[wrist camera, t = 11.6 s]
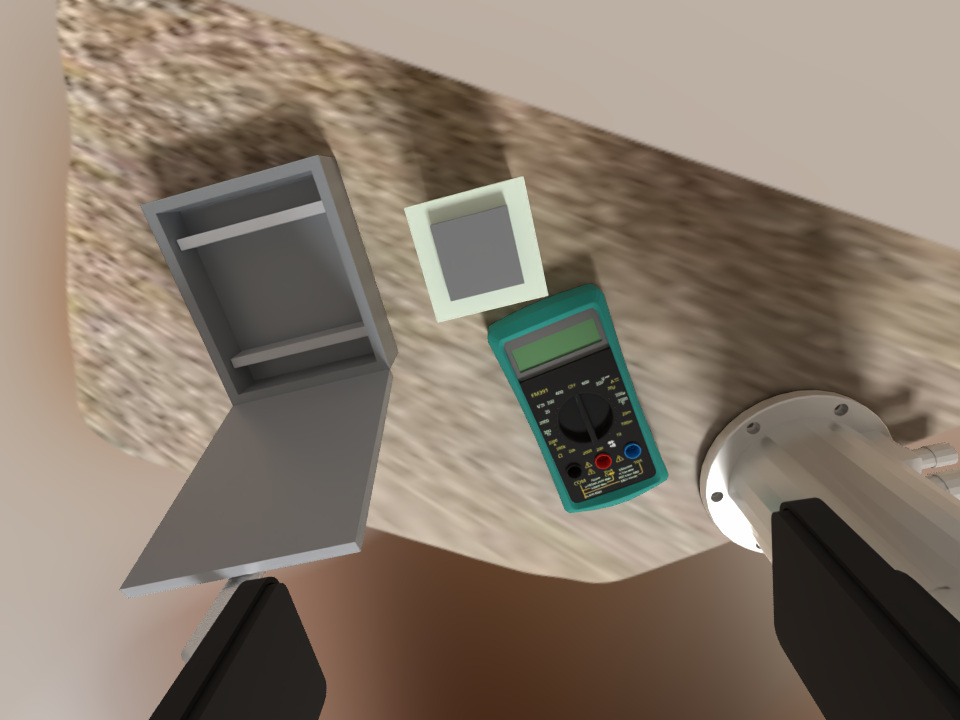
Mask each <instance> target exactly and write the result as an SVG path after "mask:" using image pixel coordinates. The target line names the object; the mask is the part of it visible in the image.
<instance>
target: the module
mask: <svg viewBox="0 0 960 720" xmlns="http://www.w3.org/2000/svg"><path fill="white" fill-rule="evenodd" d="M404 210H405V213H406V217H407V220H408V223H409V227H410V230H411V234H412V237H413V241H414V244H415V247H416V251H417V254H418V258H419V261H420V265H421V268H422V271H423V275H424V278H425V282H426V285H427V289H428V292H429V295H430V299H431V302H432V306H433V309H434V313H435V316H436V319H437V323H438V322H442V321H447V320H451V319H455V318H459V317H463V316H467V315H471V314H475V313H479V312H483V311H488V310H492V309H496V308H500V307H504V306H508V305H512V304H516V303H520V302H524V301H529V300H533V299H537V298H541V297H545V296H548V291H547V286H546V282H545V277H544V272H543V267H542V262H541V258H540V253H539V248H538V243H537V239H536V234H535V229H534V224H533V220H532V215H531V210H530V205H529V200H528V196H527V191H526V186H525V181H524V177H523V176H522V177H517V178H512V179H508V180H505V181H501V182H497V183H493V184H490V185H486V186H482V187H478V188H475V189H471V190H467V191H464V192H460V193H456V194H452V195H449V196H445V197H441V198H438V199H434V200H430V201H427V202H423V203H420V204H416V205H413V206H410V207H406V208H404Z"/></svg>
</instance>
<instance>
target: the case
mask: <svg viewBox="0 0 960 720" xmlns="http://www.w3.org/2000/svg"><path fill="white" fill-rule="evenodd" d="M140 206H141V208H142V210H143V213H144V215H145V217H146V219H147V221H148V223H149V225H150V228H151V230H152V232H153V234H154V236H155V238H156V241H157V243H158V245H159V247H160V249H161V251H162V254H163V256H164V258H165V260H166V262H167V264H168V266H169V269H170V271H171V273H172V275H173V277H174V279H175V282H176V284H177V286H178V288H179V290H180V292H181V295H182V297H183V299H184V301H185V303H186V305H187V308H188V310H189V312H190V314H191V316H192V318H193V320H194V323H195V325H196V327H197V329H198V331H199V333H200V336H201V338H202V340H203V342H204V344H205V346H206V349H207V351H208V353H209V355H210V357H211V359H212V361H213V364H214V366H215V368H216V370H217V372H218V374H219V377H220V379H221V381H222V383H223V385H224V387H225V390H226V392H227V394H228V396H229V398H230V400H231V402H232V405H233V406H234V405H239V404H243V403H247V402H251V401H256V400H260V399H264V398H268V397H273V396H277V395H281V394H285V393H289V392H294V391H298V390H302V389H306V388H311V387H315V386H319V385H323V384H328V383H332V382H336V381H340V380H345V379H349V378H353V377H357V376H362V375H366V374H370V373H374V372H379V371H383V370H387V369H390V368H391V366H392V364H393V362H394V360H395V358H396V356H397V354H398V350H397V347H396V343H395V340H394V337H393V334H392V331H391V328H390V325H389V322H388V319H387V316H386V313H385V310H384V307H383V303H382V300H381V297H380V294H379V291H378V288H377V285H376V282H375V279H374V276H373V273H372V270H371V267H370V264H369V260H368V257H367V254H366V251H365V248H364V245H363V242H362V239H361V236H360V233H359V230H358V227H357V224H356V220H355V217H354V214H353V211H352V208H351V205H350V202H349V199H348V196H347V193H346V190H345V187H344V184H343V181H342V177H341V174H340V171H339V168H338V165H337V162H336V159H335V158H334V157H328V156H322V155H316V156H312V157H308V158H305V159H301V160H298V161H294V162H291V163H287V164H284V165H280V166H277V167H273V168H269V169H266V170H262V171H259V172H255V173H252V174H248V175H245V176H241V177H238V178H234V179H231V180H227V181H223V182H220V183H216V184H213V185H209V186H206V187H202V188H199V189H195V190H192V191H188V192H184V193H181V194H177V195H174V196H170V197H167V198H163V199H160V200H156V201H153V202H149V203H146V204H142V205H140Z"/></svg>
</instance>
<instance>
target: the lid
mask: <svg viewBox="0 0 960 720" xmlns="http://www.w3.org/2000/svg"><path fill="white" fill-rule="evenodd" d="M392 381H393V375H392V373H391V370H390V369H387V370H383V371H379V372H374V373H370V374H366V375H362V376H357V377H353V378H349V379H345V380H340V381H336V382H332V383H328V384H323V385H319V386H315V387H311V388H306V389H302V390H298V391H294V392H289V393H285V394H281V395H277V396H273V397H268V398H264V399H260V400H256V401H251V402H247V403H243V404H239V405H234V406H233V407H232V408H231V410H230V412H229V413H228V415H227V416H226V418H225V420H224V421H223V423H222V424H221V426H220V428H219V429H218V431H217V433H216V434H215V436H214V437H213V439H212V441H211V442H210V444H209V445H208V447H207V449H206V450H205V452H204V454H203V455H202V457H201V458H200V460H199V462H198V463H197V465H196V466H195V468H194V470H193V471H192V473H191V475H190V476H189V478H188V479H187V481H186V483H185V484H184V486H183V487H182V489H181V491H180V492H179V494H178V496H177V497H176V499H175V500H174V502H173V504H172V505H171V507H170V508H169V510H168V512H167V513H166V515H165V517H164V518H163V520H162V521H161V523H160V525H159V526H158V528H157V529H156V531H155V533H154V534H153V536H152V538H151V539H150V541H149V543H148V544H147V546H146V547H145V549H144V551H143V552H142V554H141V555H140V557H139V559H138V561H137V562H136V564H135V565H134V567H133V568H132V570H131V572H130V573H129V575H128V576H127V578H126V580H125V581H124V583H123V584H122V586H121V588H120V589H119V590H120V591H121V592H122V593H123V594H124V595H126V596H127V597H128V598H131V597H136V596H141V595H146V594H151V593H156V592H161V591H166V590H171V589H176V588H181V587H186V586H191V585H196V584H201V583H206V582H211V581H216V580H221V579H226V578H231V577H236V576H241V575H246V574H251V573H256V572H261V571H266V570H271V569H276V568H281V567H286V566H291V565H296V564H301V563H305V562H311V561H315V560H321V559H326V558H331V557H336V556H341V555H346V554H350V553H355V552H361V548H362V542H363V537H364V532H365V527H366V521H367V516H368V510H369V505H370V500H371V494H372V489H373V483H374V478H375V473H376V467H377V462H378V456H379V451H380V446H381V440H382V435H383V430H384V424H385V419H386V413H387V408H388V403H389V397H390V392H391V386H392Z"/></svg>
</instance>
